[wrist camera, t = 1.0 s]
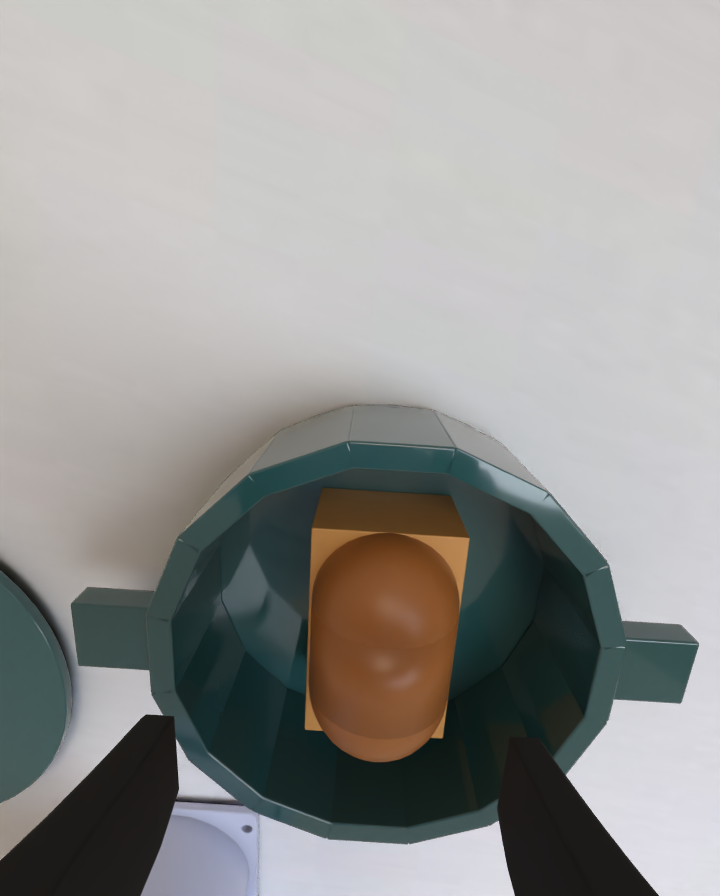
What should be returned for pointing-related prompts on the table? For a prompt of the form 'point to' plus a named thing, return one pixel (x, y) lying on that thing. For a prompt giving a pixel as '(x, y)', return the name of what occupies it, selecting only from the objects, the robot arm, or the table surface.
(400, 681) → the bread
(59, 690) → the lid
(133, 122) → the table surface
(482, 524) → the pot
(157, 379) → the table surface
